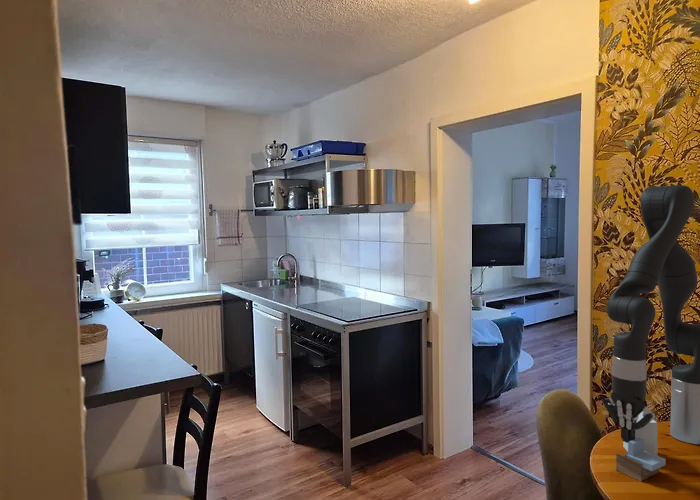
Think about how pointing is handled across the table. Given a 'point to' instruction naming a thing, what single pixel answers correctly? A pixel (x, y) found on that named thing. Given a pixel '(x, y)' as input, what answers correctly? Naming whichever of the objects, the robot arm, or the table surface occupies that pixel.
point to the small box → (647, 436)
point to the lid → (644, 455)
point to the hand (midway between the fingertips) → (627, 441)
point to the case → (633, 467)
